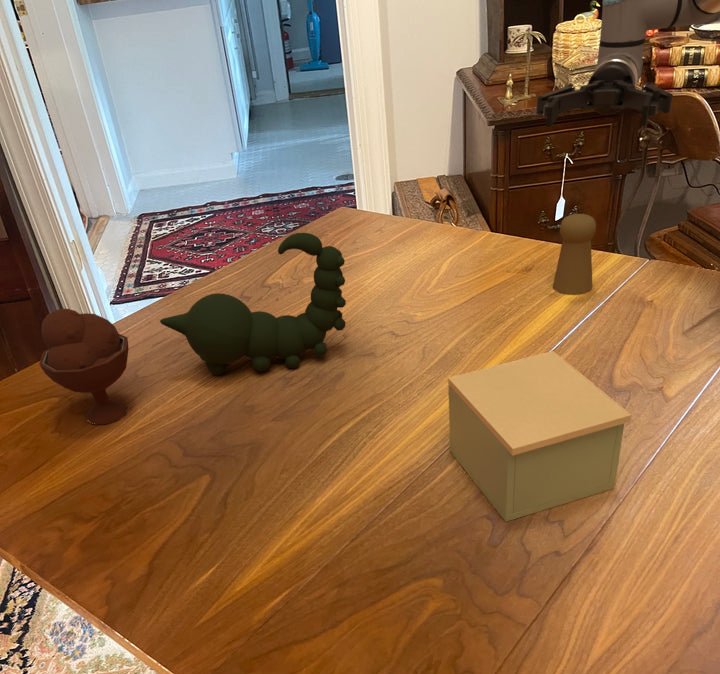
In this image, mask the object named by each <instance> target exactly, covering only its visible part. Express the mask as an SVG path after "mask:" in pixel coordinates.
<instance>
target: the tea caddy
mask: <svg viewBox="0 0 720 674" xmlns="http://www.w3.org/2000/svg"><path fill="white" fill-rule="evenodd" d="M448 424H449V425H448V426H449V427H448V429H449V433H448V435H449V436H448V437H449V452H450V453H451V455H452V456H453V457H454V459H455V460H456V461H457V462H458V464H459V465H460V467H462V468H463V470H464V471H465V472H466V474H468V477H470V479H471V480H472V481H473V482H474V484H475V485H476V486H477V487H478V489H479V490H480V491H481V493H482V494H483V495H484V497H485V498H486V499H487V500H488V502H489V503H490V505H492V506H493V508H494V509H495V511H496V512H497V513H498V515H500V517H501V518H502V520H503V521H504V522H510V521H513V520H516V519H519V518H523V517H526V516H530V515H532V514H536V513H539V512H543V511H545V510H546V511H547V510H549V509H552V508H556V507H558V506H561V505H562V506H563V505H566V504H568V503H572V502H575V501H578V500H581V499H585V498H588V497H591V496H595V495H599V494H600V493H605V492H608V491H610V490H613V489H616V480H617V473H618V468H619V461H620V454H621V448H622V442H623V435H624V429H625V423H624V424H620V425H617V426H614V427H610V428H607V429H603V430H600V431H596V432H593V433H589V434H586V435H582V436H579V437H575V438H572V439H568V440H565V441H562V442H558V443H555V444H551V445H548V446H544V447H541V448H537V449H534V450H530V451H527V452H523V453H520V454H516V455H512V454H511V453H510V452H509V451H508V450H507V449H506V448H505V447H504V446H503V444H502V443H501V442H500V441H499V440H498V439H497V438H496V437H495V436H494V434H493V433H492V432H491V431H490V430H489V429H488V428H487V427H486V426H485V424H484V423H483V422H482V421H481V420H480V419H479V418H478V417H477V415H476V414H475V413H474V412H473V411H472V410H471V409H470V408H469V407H468V405H467V404H466V403H465V402H464V401H463V400H462V399H461V398H460V397H459V395H458V394H457V393H456V392H455V391H454V390H453V389H452V388H451V387H450V385H449V384H448Z"/></svg>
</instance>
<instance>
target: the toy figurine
mask: <svg viewBox="0 0 720 674" xmlns="http://www.w3.org/2000/svg"><path fill="white" fill-rule="evenodd" d="M289 250H299V251H301V252H304V253H305V254H307V255H309V256H313V257H315V262H316V268H315V270H314V272H313V277H312V278H313V283H314V286H313V287H312V289H311V291H310V302H309V303H308V304H307V306H306V308H305V310H304V312H301V313H299V314H297V316H294V315H289V314H287V315H285V314H284V315H280V316H278V317H276V316H275V315H274V314H272V313H270V312H267V311H262V310H261V311H259V310H258V311H253V312H252V310H251V309H250V308H249V307H248V306H247V304H246V303H244V302H243V300H240V299H239V298H237V297H236V296H233V295H230V294H226V293H221V292H220V293H218V292H217V293H216V292H215V293H211V294H208V295H205V296H203V297H201V298H200V299H198V300H197V301H195V302H194V303H193V304H192V306H191V307H190V308H189V310H188V311H187V312H184V313H181V314H177V315H172V316H167V317H164V318H161V319H160V320H159V323H160V324H161V325H162V326H164V327H167V328H169V329H170V330H172V331H176V332H178V333H179V334H181V335H183V336H185V338H186V340H187V343H188V345H189V346H190V348H191V349H192V350H193V352H194V353H195V354H196V355H197V356H198V357H199V358H200V359H201V360H202V361H203V362H205V366H206V369H207V370H208V372H209V373H210V374H212V375H216V376H219V375H222V374H224V373H225V372H226V371H227V370H228V369H229V364H231V363H235V362H237V361H239V360H241V359H242V358H243V357H246V358H247V359H250V361H251V364H252V367H253V370H256V371H257V372H264V371H266V370H268V369H269V368H270V366H271V360H272V359H273V358H275V357H276V358H278V359H280V360H285V363H284V364H285V365H286V366H287V367H288V368H289V369H296V368H297V367H299V366H300V363H301V362H300V361H301V358H300V357H301V356H303V355H304V353H306V351H307V350H312V351H313V353H314V354H315V356H318V357H322V356H325V355H326V354H327V352H328V350H329V349H328V346H327V344H326V342H324V340H325V339H326V337H327V333H328V332H329V331H332V329H333V328H334V329H335V330H336V331H343V330H344V329H345V328H346V321H345V319H344V318H343V312H342V311H341V310H339V309H342V308H344V307H345V306H346V305H347V301H346V299H345V298H344V297H343V290H342V289H341V288H340V287H341V286H344V285H345V283H346V278H345V276H344V274H343V271H342V267H343V266H344V265H345V261H346V260H345V258H344V256H343V253H342V251H341V250H340V249H338V248H337V247H336V246H332V245H325V246H324V247H323V243H322V241H321V239H320V238H319V236H317V235H314V234H313V233H308V232H296V233H293V234H290V235H288V236H287V237H286V238H284V239H283V240H282V242H281V243H280V244H279V246H278V248H277V253H278V254H279V255H284V253H286V252H287V251H289ZM338 308H339V309H338Z"/></svg>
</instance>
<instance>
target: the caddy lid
mask: <svg viewBox="0 0 720 674" xmlns="http://www.w3.org/2000/svg"><path fill="white" fill-rule="evenodd" d="M447 383H448V385H450V387H451V388H452V389H453V390H454V391H455V392H456V393H457V394H458V395H459V397H460V398H461V399H462V400H463V401H464V402H465V403H466V404H467V405H468V407H469V408H470V409H471V410H472V411H473V412H474V413H475V414H476V415H477V417H478V418H479V419H480V420H481V421H482V422H483V423H484V424H485V426H486V427H487V428H488V429H489V430H490V431H491V432H492V433H493V434H494V436H495V437H496V438H497V439H498V440H499V441H500V442H501V443H502V444H503V446H504V447H505V448H506V449H507V450H508V451H509V452H510V453H511V454H512V455H516V454H520V453H523V452H527V451H530V450H534V449H537V448H541V447H544V446H548V445H551V444H555V443H558V442H562V441H565V440H568V439H572V438H575V437H579V436H582V435H586V434H589V433H593V432H596V431H600V430H603V429H607V428H610V427H614V426H617V425H620V424H624V425H625V424H627V423H630V422H631V420H632V414H631V413H630V412H628V410H626V409H625V408H624V407H622V406H621V404H619V403H617V401H616V400H614V399H612V397H611V396H609V395H608V394H607V393H606V392H604V391H603V390H601V389H600V388H599V387H598V386H597V385H596V384H594V383H593V382H592V381H591V380H590V379H588V378H587V377H586V376H584V375H583V374H582V373H581V372H580V371H578V370H577V369H576V368H575V367H574V366H572V365H571V364H570V363H569V362H568V361H566V360H565V359H564V358H563V357H561V356H560V355H559V354H558V353H556V351H554V350H550V351H546V352H543V353H539V354H538V353H537V354H535V355H531V356H527V357H523V358H520V359H516V360H512V361H508V362H504V363H500V364H496V365H493V366H488V367H484V368H481V369H477V370H473V371H469V372H465V373H461V374H458V375H453V376H451V377H450V376H449V377H447Z"/></svg>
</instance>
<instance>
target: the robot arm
mask: <svg viewBox="0 0 720 674" xmlns="http://www.w3.org/2000/svg"><path fill="white" fill-rule="evenodd" d="M601 11H602V13H601V26H600V35H599V37H600V40H599V44H598V54H597V64H596V68H595V69H594V71H593V73H592V75H591V77H590V78H589V80H588V82H587V84H584V85H581V86H580V88H579V89H576V86H575V85H574V84H573V83H569V84H565V86H563V87H560V88H557V89H555V90H553V91H549V92H546V93H543V94H540V95H538V96H537V97H536V113H535V114H536V115H542V116H543V117H546V121H545V127H547V128H552V126H553V125H554V123H555V122H556V120H557V119H558V117H559V114H562V113H565V112H569V111H574V110H578V109H579V110H583V111H587V110H591V109H592V110H593V111H595V112H597V113H598V114H601V115H613V114H616V113H619V112H620V111H621V110H628V109H632V110H636V111H640V112H641V115H640V116H641V117H640V124H639V126H640V127H646V126H647V124H648V123H647V122H648V119H649V116H651V117H652V116H657V115H658V113H659V112H661V113H663V114H669V113H671V109H672V104H673V98H674V97H673V96H674V94H673V93H671V92H669V91H667V90H665V89H662V88H660V87H658V86H656V85H655V84H654V82H651V81H649V82H646V83H645V84H642V86H641V87H642V88H636V87H637V85H638V84H639V81H640V79H641V78H642V74H643V67H644V62H643V56H644V48H645V42H646V35H647V31H654V30H660V29H670V28H677V27H687V26H695V25H710V24H713V23H717V22H720V0H602V10H601Z"/></svg>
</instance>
